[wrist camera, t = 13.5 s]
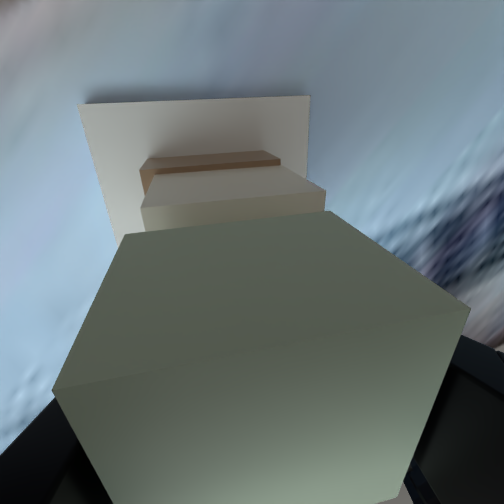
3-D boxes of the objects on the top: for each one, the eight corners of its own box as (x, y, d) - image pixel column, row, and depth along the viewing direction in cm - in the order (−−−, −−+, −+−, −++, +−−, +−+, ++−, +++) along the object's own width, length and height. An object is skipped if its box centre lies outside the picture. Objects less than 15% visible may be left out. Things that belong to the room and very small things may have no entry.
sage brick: (329, 210, 8) (470, 308, 4) (317, 352, 11) (396, 497, 7) (124, 234, 7) (51, 390, 3) (164, 383, 10) (151, 573, 6)
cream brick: (281, 165, 13) (326, 190, 9) (280, 270, 15) (313, 327, 11) (154, 174, 12) (140, 208, 8) (175, 285, 14) (172, 353, 10)
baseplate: (303, 96, 15) (338, 92, 12) (296, 270, 20) (319, 304, 17) (83, 104, 13) (49, 103, 10) (136, 294, 18) (125, 337, 15)
